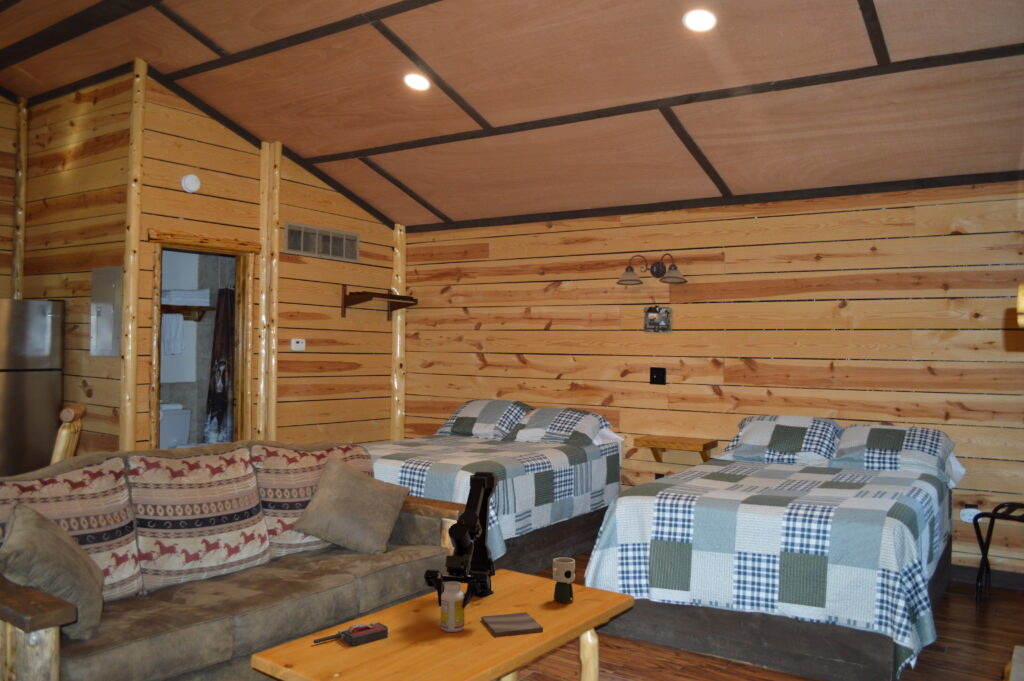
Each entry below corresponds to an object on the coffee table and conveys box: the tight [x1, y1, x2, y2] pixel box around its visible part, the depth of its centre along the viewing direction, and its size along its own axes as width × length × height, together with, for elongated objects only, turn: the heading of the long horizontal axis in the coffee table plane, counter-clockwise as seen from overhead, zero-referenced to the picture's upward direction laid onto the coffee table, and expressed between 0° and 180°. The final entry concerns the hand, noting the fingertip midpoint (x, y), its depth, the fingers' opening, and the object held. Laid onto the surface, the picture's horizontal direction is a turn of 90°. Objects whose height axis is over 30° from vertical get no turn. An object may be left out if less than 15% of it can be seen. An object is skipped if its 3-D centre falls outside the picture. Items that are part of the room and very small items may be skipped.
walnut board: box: [480, 611, 544, 638], centre depth 229 cm, size 14×14×1 cm
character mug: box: [552, 556, 576, 603], centre depth 254 cm, size 11×7×13 cm, turn 140°
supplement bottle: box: [440, 581, 465, 633], centre depth 227 cm, size 7×7×13 cm
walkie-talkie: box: [312, 621, 389, 647], centre depth 217 cm, size 9×4×20 cm
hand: (451, 606), depth 225 cm, fingers closed on supplement bottle, 7 cm apart
